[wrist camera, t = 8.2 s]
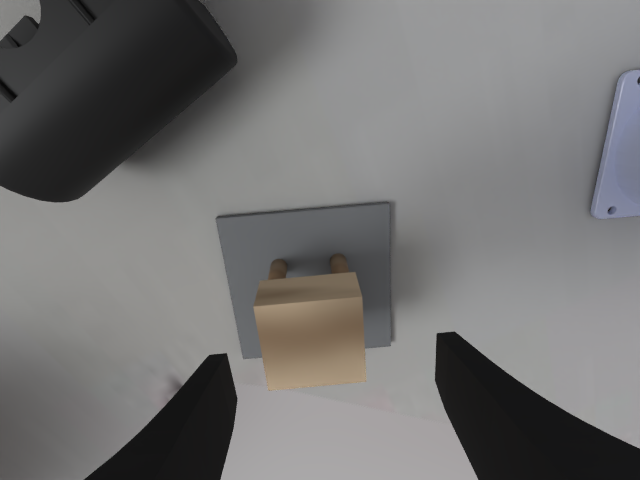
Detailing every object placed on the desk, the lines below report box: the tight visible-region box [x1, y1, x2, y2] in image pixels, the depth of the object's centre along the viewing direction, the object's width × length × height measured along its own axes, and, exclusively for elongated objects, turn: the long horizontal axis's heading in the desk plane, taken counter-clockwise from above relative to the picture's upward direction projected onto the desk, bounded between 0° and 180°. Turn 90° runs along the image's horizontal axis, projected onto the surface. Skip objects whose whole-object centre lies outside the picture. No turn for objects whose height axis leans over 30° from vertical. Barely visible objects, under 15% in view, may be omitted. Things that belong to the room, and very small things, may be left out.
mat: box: [216, 202, 391, 359], centre depth 23 cm, size 10×10×1 cm
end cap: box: [0, 0, 237, 202], centre depth 15 cm, size 10×7×7 cm
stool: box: [253, 253, 366, 391], centre depth 20 cm, size 5×5×6 cm
